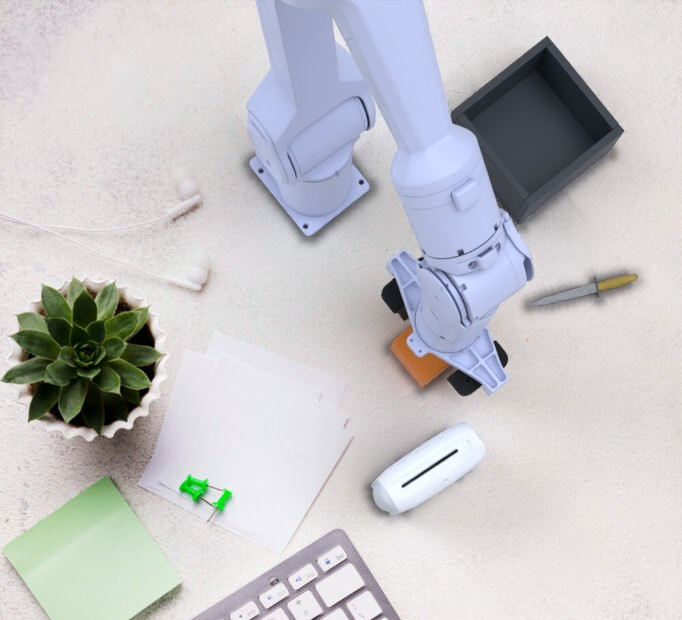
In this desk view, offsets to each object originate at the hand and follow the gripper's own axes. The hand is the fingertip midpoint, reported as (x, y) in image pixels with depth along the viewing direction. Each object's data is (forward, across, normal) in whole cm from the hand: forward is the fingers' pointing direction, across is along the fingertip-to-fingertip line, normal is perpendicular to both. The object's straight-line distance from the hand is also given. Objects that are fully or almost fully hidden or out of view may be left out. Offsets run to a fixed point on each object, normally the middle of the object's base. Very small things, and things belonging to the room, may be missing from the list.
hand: (435, 343), depth 82 cm
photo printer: (+2, +9, -9) cm, 13 cm away
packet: (+2, 0, 0) cm, 2 cm away
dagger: (+2, +5, +15) cm, 16 cm away
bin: (+2, -10, +20) cm, 22 cm away
